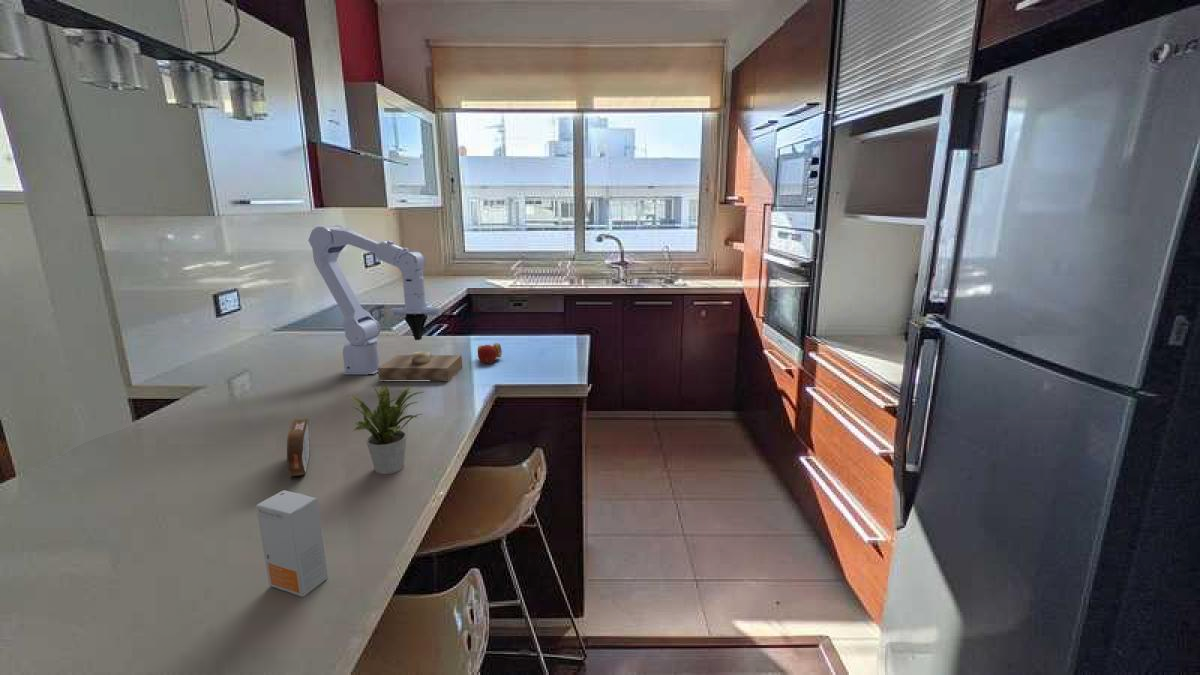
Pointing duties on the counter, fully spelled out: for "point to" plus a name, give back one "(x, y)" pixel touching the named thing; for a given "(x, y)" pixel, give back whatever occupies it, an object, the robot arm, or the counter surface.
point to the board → (421, 368)
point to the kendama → (489, 353)
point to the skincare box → (292, 542)
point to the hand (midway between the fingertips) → (418, 339)
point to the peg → (420, 357)
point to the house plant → (386, 431)
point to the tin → (298, 447)
